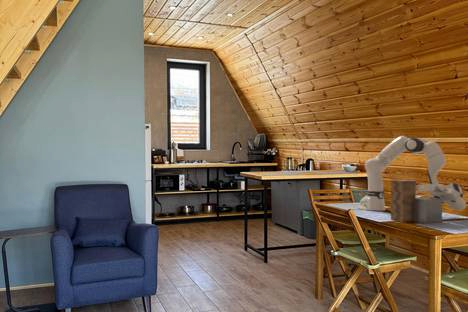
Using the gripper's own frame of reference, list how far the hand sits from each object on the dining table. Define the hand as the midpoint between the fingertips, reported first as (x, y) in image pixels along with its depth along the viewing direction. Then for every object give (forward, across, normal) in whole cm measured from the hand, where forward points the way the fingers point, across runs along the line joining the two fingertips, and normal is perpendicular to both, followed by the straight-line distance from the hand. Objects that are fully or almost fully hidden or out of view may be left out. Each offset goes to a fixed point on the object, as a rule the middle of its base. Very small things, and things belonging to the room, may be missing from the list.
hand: (434, 186), depth 281 cm
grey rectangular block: (+2, 0, +4) cm, 5 cm away
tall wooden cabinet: (+2, -12, +27) cm, 29 cm away
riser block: (-6, 0, +22) cm, 23 cm away
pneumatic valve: (-36, -37, +5) cm, 52 cm away
